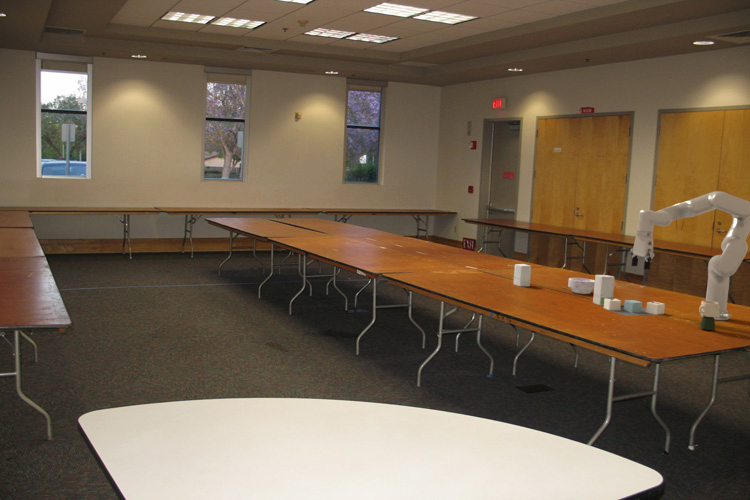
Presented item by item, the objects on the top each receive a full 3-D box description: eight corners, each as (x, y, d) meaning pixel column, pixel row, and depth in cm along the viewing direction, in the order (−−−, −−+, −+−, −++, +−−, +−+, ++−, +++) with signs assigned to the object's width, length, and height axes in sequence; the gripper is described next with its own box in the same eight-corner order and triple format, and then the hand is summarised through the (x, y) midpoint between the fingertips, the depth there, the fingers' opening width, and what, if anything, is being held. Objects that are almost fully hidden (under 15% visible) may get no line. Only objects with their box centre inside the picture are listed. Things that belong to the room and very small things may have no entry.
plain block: (641, 312, 335) (642, 302, 334) (632, 312, 333) (633, 302, 332) (632, 309, 340) (633, 300, 340) (623, 309, 338) (624, 300, 338)
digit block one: (663, 313, 333) (664, 303, 333) (656, 314, 330) (657, 304, 330) (653, 311, 338) (654, 301, 338) (646, 312, 335) (647, 302, 335)
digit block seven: (620, 310, 337) (621, 300, 336) (609, 310, 336) (609, 300, 335) (614, 307, 343) (615, 298, 342) (603, 307, 342) (604, 297, 341)
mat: (663, 314, 333) (664, 313, 333) (626, 316, 324) (626, 316, 324) (637, 307, 349) (638, 306, 349) (601, 308, 341) (601, 308, 341)
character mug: (711, 327, 309) (713, 300, 307) (722, 331, 302) (725, 303, 300) (691, 328, 306) (694, 300, 304) (703, 332, 299) (706, 304, 297)
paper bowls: (591, 291, 391) (592, 278, 390) (597, 296, 376) (598, 282, 375) (565, 289, 393) (566, 276, 392) (570, 294, 378) (571, 280, 377)
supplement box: (530, 286, 399) (531, 265, 397) (519, 286, 396) (521, 265, 395) (523, 284, 406) (524, 263, 404) (512, 284, 403) (514, 264, 401)
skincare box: (599, 305, 349) (601, 276, 347) (592, 303, 355) (594, 274, 353) (612, 305, 351) (615, 276, 349) (605, 302, 357) (607, 274, 355)
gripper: (662, 236, 326) (657, 270, 328) (639, 232, 343) (635, 264, 345) (649, 236, 324) (645, 270, 326) (627, 232, 341) (623, 264, 343)
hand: (640, 267), depth 336 cm, fingers open, 9 cm apart
